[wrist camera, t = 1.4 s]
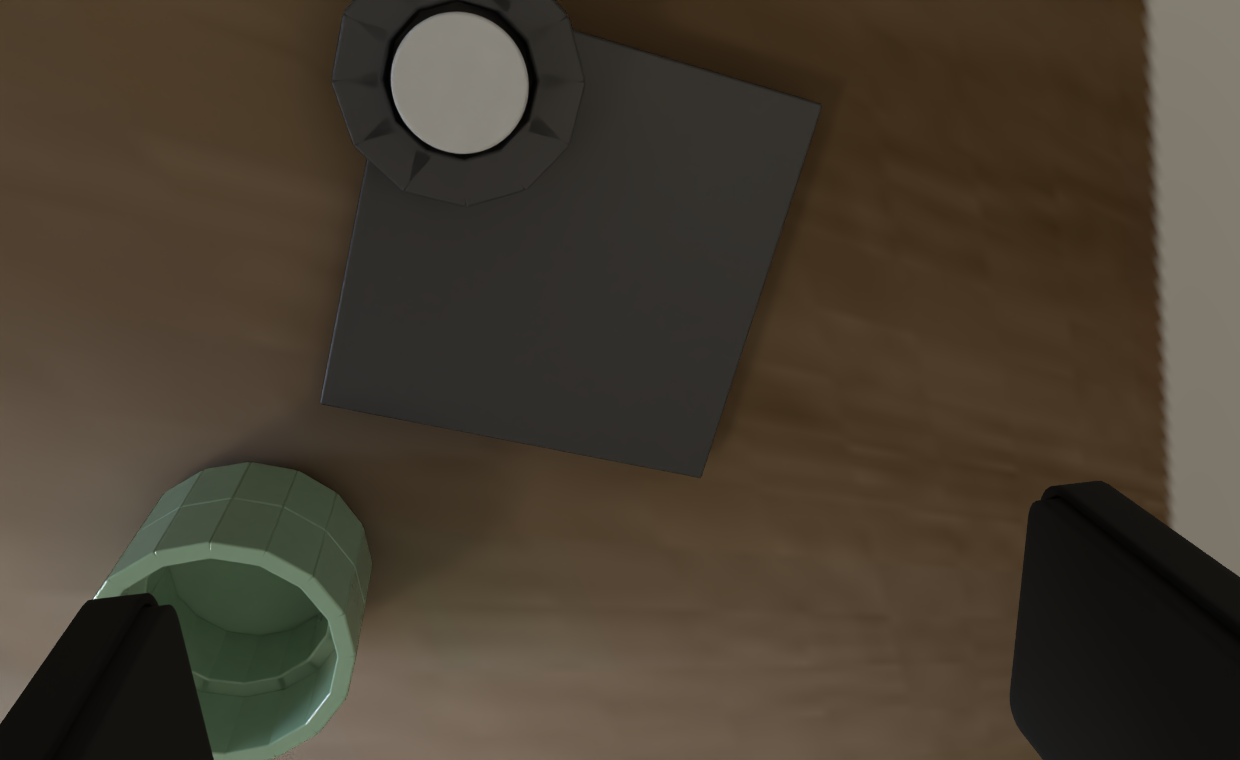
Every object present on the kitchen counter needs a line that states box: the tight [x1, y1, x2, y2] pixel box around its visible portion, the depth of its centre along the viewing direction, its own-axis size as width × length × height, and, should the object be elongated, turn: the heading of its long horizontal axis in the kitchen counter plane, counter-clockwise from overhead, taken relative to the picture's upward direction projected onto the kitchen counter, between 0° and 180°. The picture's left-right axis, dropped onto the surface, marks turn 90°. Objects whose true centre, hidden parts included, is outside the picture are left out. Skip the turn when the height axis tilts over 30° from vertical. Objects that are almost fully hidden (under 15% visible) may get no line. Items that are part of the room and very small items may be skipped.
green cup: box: [93, 462, 372, 760], centre depth 28 cm, size 7×7×6 cm
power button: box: [391, 12, 529, 154], centre depth 23 cm, size 3×3×2 cm
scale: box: [320, 0, 822, 478], centre depth 27 cm, size 13×13×3 cm
